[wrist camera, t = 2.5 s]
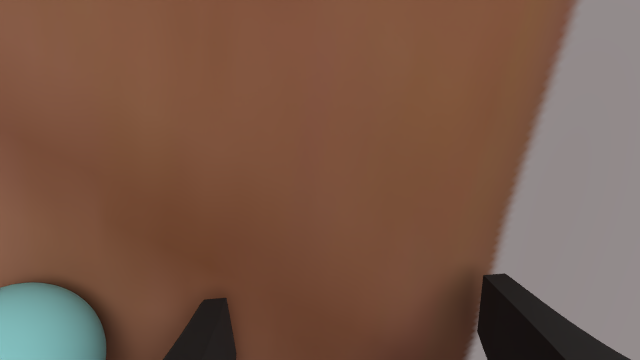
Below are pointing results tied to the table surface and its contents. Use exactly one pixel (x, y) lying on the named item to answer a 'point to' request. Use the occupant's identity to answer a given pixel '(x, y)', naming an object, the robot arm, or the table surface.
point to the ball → (48, 324)
